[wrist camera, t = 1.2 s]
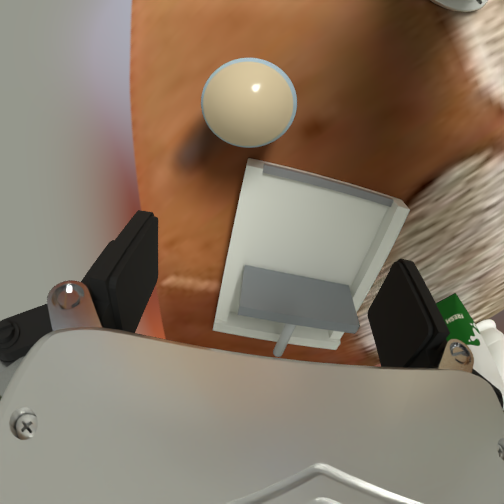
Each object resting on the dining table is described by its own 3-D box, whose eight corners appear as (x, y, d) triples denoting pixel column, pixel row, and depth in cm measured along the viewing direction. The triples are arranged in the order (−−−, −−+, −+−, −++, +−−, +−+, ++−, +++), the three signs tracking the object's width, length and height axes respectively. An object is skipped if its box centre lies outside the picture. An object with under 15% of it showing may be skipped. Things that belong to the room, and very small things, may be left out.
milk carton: (418, 343, 42) (451, 453, 25) (408, 311, 38) (451, 439, 21) (463, 320, 39) (508, 424, 22) (459, 285, 35) (520, 402, 18)
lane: (248, 157, 28) (245, 167, 25) (401, 199, 29) (412, 212, 26) (216, 313, 39) (212, 330, 37) (333, 333, 40) (336, 349, 38)
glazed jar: (225, 56, 22) (208, 50, 16) (297, 71, 23) (308, 70, 16) (212, 121, 26) (191, 140, 19) (280, 135, 26) (284, 159, 20)
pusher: (244, 264, 33) (239, 306, 28) (348, 285, 34) (359, 325, 29) (230, 320, 38) (225, 360, 33) (321, 335, 39) (326, 374, 34)
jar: (498, 335, 41) (527, 395, 29) (456, 360, 45) (479, 425, 33) (498, 304, 37) (536, 372, 24) (450, 334, 41) (480, 408, 28)
